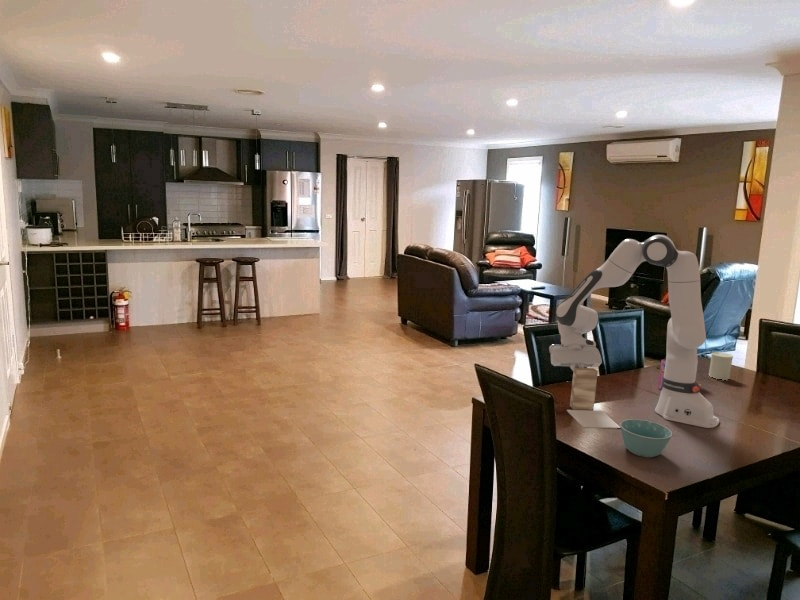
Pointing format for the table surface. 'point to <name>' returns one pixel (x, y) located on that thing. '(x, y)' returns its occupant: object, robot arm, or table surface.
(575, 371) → the birch block
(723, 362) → the can
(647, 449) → the bowl
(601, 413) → the mat
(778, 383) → the table surface
